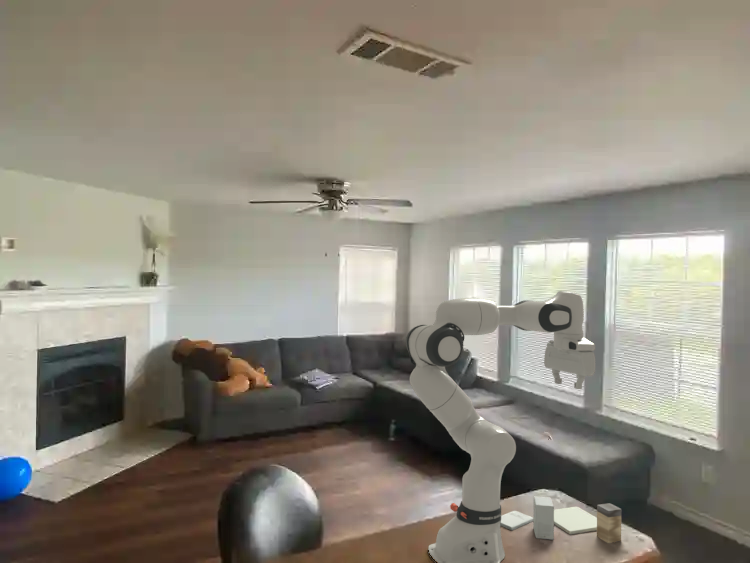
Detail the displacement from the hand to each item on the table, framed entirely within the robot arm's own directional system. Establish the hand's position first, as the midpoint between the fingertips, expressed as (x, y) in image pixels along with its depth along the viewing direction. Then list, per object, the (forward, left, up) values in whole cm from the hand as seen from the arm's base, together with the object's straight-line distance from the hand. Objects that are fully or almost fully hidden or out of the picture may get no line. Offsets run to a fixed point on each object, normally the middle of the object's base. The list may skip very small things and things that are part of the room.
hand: (567, 386), depth 170 cm
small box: (-5, +5, -48) cm, 49 cm away
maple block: (+13, -4, -48) cm, 50 cm away
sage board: (+11, +10, -48) cm, 50 cm away
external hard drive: (-9, +16, -49) cm, 52 cm away
